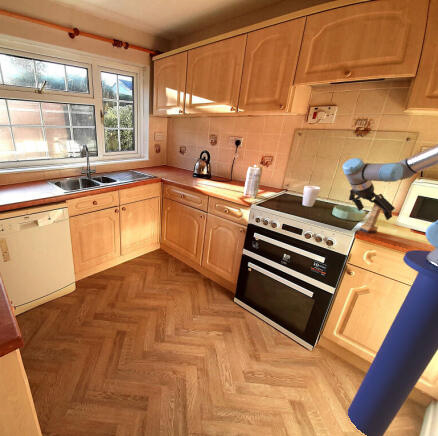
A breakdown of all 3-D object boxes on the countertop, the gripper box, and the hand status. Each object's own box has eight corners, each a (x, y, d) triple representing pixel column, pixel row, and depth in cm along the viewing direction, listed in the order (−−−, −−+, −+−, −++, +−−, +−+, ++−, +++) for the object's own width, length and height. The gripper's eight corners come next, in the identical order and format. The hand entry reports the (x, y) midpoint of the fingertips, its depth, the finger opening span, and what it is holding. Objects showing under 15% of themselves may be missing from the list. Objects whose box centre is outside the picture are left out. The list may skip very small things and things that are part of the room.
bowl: (365, 223, 140) (368, 215, 138) (332, 217, 148) (335, 210, 146) (360, 216, 152) (363, 208, 151) (330, 211, 160) (333, 203, 158)
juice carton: (257, 196, 188) (263, 165, 179) (255, 198, 182) (261, 166, 173) (245, 194, 193) (250, 163, 184) (242, 196, 187) (247, 165, 178)
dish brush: (367, 233, 128) (378, 205, 122) (359, 229, 131) (369, 203, 126) (376, 232, 129) (387, 205, 124) (368, 229, 133) (378, 203, 127)
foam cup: (296, 203, 173) (301, 186, 168) (305, 202, 176) (310, 185, 172) (309, 208, 165) (314, 189, 160) (318, 206, 168) (323, 188, 164)
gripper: (332, 185, 129) (345, 210, 138) (384, 198, 106) (396, 227, 115) (343, 175, 128) (356, 201, 137) (398, 186, 106) (409, 216, 114)
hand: (374, 213), depth 126 cm, fingers open, 13 cm apart
